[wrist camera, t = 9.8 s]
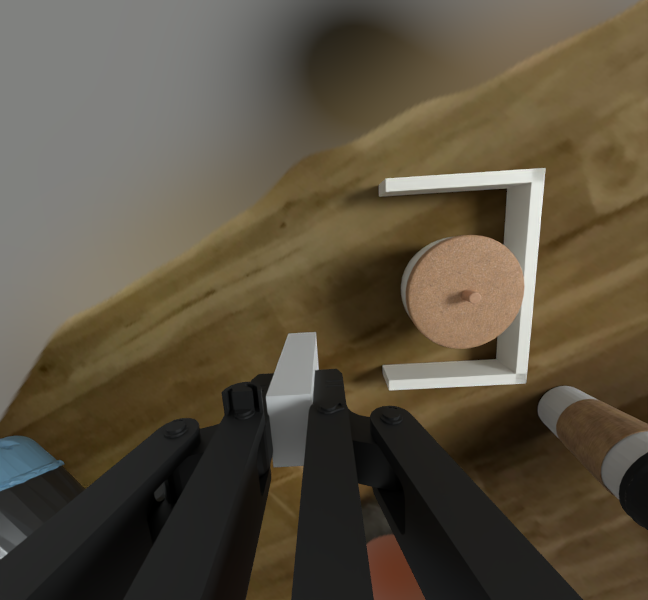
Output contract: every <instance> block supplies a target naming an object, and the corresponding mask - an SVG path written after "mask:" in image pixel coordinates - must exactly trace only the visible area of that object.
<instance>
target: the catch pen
mask: <svg viewBox="0 0 648 600" xmlns="http://www.w3.org/2000/svg"><path fill="white" fill-rule="evenodd" d="M544 179H545V168H538V169H523V170H508V171H493V172H478V173H463V174H448V175H433V176H418V177H403V178H388V179H385V180H384V181H383V182H382V183H380V184H379V197H382V196H397V195H413V194H428V193H443V192H459V191H474V190H490V189H505V188H507V200H506V216H505V231H504V246H506V247H507V248H508V249H509V250H510V251H511V252H512V253H513V254H514V256H515V257H516V259H517V260H518V262H519V264H520V266H521V269H522V272H523V276H524V286H525V287H524V296H523V301H522V305H521V307H520V309H519V312H518V314H517V315H516V317H515V319H514V321H513V322H512V323H511V324H510V325H509V327H508V328H507V329H506V330H505V331H504V332H503V333H502V334H500V335H499V336H498V338H497V353H496V359H490V360H471V361H452V362H433V363H414V364H396V365H382V368H383V376H384V379H385V381H386V384H387V386H388V389H389V390H405V389H424V388H444V387H463V386H483V385H502V384H522V383H526V379H527V368H528V357H529V346H530V335H531V324H532V313H533V302H534V290H535V279H536V268H537V257H538V246H539V235H540V224H541V213H542V202H543V191H544Z"/></svg>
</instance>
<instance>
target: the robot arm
mask: <svg viewBox="0 0 648 600" xmlns="http://www.w3.org/2000/svg"><path fill="white" fill-rule="evenodd" d="M222 399H223V406H224V413H225V415H224V417H223V419H222V421H221V423H220V424H217V425H214V426H210V427H206V428H202V429H200V428H199V423H198V422H197V421H196V420H195V419H191V418H182V419H177V420H174V421H172V422H170V423H167V424H165V425H164V426H162V427H161V428H159V429H158V430H157V431H156V432H154V433H153V434H152V435H151V436H149V437H148V438H147V439H146V440H145V441H143V442H142V443H141V444H140V445H139V446H137V447H136V448H135V449H134V450H132V451H131V452H130V453H129V454H128V455H126V456H125V457H124V458H123V459H122V460H120V461H119V462H118V463H117V464H116V465H114V466H113V467H112V468H111V469H109V470H108V471H107V472H106V473H105V474H103V475H102V476H101V477H100V478H99V479H97V480H96V481H95V482H94V483H92V484H91V485H90V486H89V487H88V488H86V489H85V488H84V487H83V486H81V485H80V483H79V482H78V481H77V480H76V479H75V478H74V477H73V476H72V475H71V474H70V473H69V472H68V471H67V470H66V469H65V468H64V467H63V466H62V465H64V462H63V461H61V460H56V459H55V458H54V457H53V456H52V455H50V454H49V453H48V452H47V451H46V450H45V449H43V448H42V447H41V446H40V445H39V444H38V443H36V442H35V441H34V440H32V439H31V438H28V437H25V436H10V437H5V438H2V439H0V600H245V599H246V595H247V590H248V585H249V581H250V576H251V571H252V567H253V562H254V557H255V553H256V548H257V543H258V538H259V534H260V529H261V524H262V520H263V515H264V510H265V506H266V501H267V496H268V492H269V487H270V482H271V469H270V463H271V458H272V457H273V466H274V467H287V466H304V468H303V479H302V489H301V500H300V511H299V522H298V533H297V544H296V555H295V566H294V577H293V588H292V598H291V600H374V598H373V591H372V584H371V576H370V569H369V562H368V555H367V546H366V539H365V532H364V524H363V517H362V509H361V502H360V494H359V487H358V483H359V484H363V485H367V486H372V488H373V492H374V495H375V497H376V499H377V501H378V503H379V505H380V507H381V509H382V511H383V513H384V515H385V517H386V519H387V521H388V523H389V526H390V528H391V530H392V532H393V534H394V536H395V538H396V540H397V542H398V544H399V546H400V548H401V550H402V552H403V554H404V556H405V558H406V560H407V562H408V564H409V566H410V568H411V570H412V573H413V574H414V577H415V579H416V580H417V582H418V585H419V587H420V589H421V591H422V593H423V595H424V597H425V599H426V600H583V599H582V598H581V597H580V596H579V595H578V594H577V593H576V592H575V590H574V589H573V588H572V587H571V586H570V585H569V584H568V583H567V582H566V581H565V580H564V579H563V577H562V576H561V575H560V574H559V573H558V572H557V571H556V570H555V569H554V568H553V567H552V566H551V565H550V563H549V562H548V561H547V560H546V559H545V558H544V557H543V556H542V555H541V554H540V553H539V552H538V551H537V549H536V548H535V547H534V546H533V545H532V544H531V543H530V542H529V541H528V540H527V539H526V538H525V537H524V535H523V534H522V533H521V532H520V531H519V530H518V529H517V528H516V527H515V526H514V525H513V524H512V522H511V521H510V520H509V519H508V518H507V517H506V516H505V515H504V514H503V513H502V512H501V511H500V510H499V508H498V507H497V506H496V505H495V504H494V503H493V502H492V501H491V500H490V499H489V498H488V497H487V496H486V494H485V493H484V492H483V491H482V490H481V489H480V488H479V487H478V486H477V485H476V484H475V483H474V482H473V480H472V479H471V478H470V477H469V476H468V475H467V474H466V473H465V472H464V471H463V470H462V469H461V468H460V466H459V465H458V464H457V463H456V462H455V461H454V460H453V459H452V458H451V457H450V456H449V455H448V453H447V452H446V451H445V450H444V449H443V448H442V447H441V446H440V445H439V444H438V443H437V442H436V441H435V439H434V438H433V437H432V436H431V435H430V434H429V433H428V432H427V431H426V430H425V429H424V428H423V427H422V425H421V424H420V423H419V422H418V421H417V420H416V419H415V418H414V417H413V416H412V415H411V414H410V413H409V412H408V411H406V410H405V409H402V408H400V407H396V406H382V407H379V408H376V409H375V410H374V411H373V412H372V413H371V415H370V417H365V416H361V415H357V414H355V413H353V412H352V411H350V410H349V409H348V407H347V405H346V399H345V391H344V384H343V376H342V373H341V372H340V371H339V370H337V369H327V370H319V369H318V354H317V340H316V332H308V333H291V334H288V337H287V339H286V342H285V345H284V348H283V350H282V353H281V356H280V359H279V361H278V364H277V367H276V370H275V373H272V374H259V375H257V376H256V377H255V378H254V379H252V380H251V382H242V383H237V384H234V385H231V386H229V387H228V388H226V389H225V390H224V391H223V392H222Z"/></svg>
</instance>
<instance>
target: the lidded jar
mask: <svg viewBox="0 0 648 600" xmlns="http://www.w3.org/2000/svg"><path fill="white" fill-rule="evenodd" d="M524 287H525V286H524V276H523V272H522V269H521V266H520V264H519V262H518V260H517V259H516V257H515V256H514V254H513V253H512V252H511V251H510V250H509V249H508V248H507V247H506V246H504V245H503V244H501V243H500V242H498V241H496V240H494V239H491V238H488V237H484V236H478V235H461V236H456V237H449V238H444V239H440V240H438V241H435V242H433V243H430V244H429V245H427V246H425V247H424V248H422V249H421V250H420V251H419V252H417V253H416V254H415V255H414V256H413V257H412V259H411V260H410V261H409V263H408V264H407V266H406V268H405V270H404V273H403V276H402V281H401V297H402V302H403V305H404V308H405V310H406V312H407V314H408V315H409V317H410V319H411V320H412V321H413V323H414V325H415V326H416V327H417V328H418V330H419V331H420V332H421V333H422V334H423V335H424V336H425V337H427V338H428V339H429V340H431V341H433V342H434V343H436V344H439V345H441V346H444V347H448V348H456V349H465V348H472V347H477V346H480V345H483V344H485V343H487V342H489V341H491V340H493V339H495V338H496V337H497V336H499V335H500V334H502V333H503V332H504V331H505V330H506V329H507V328H508V327H509V325H510V324H511V323H512V322H513V321H514V319H515V317H516V315H517V314H518V312H519V309H520V307H521V305H522V301H523V296H524Z"/></svg>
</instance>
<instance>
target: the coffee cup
mask: <svg viewBox="0 0 648 600" xmlns="http://www.w3.org/2000/svg"><path fill="white" fill-rule="evenodd" d="M538 415H539V417H540V419H541V420H542V422H543V423H544V424H545V425H546V426H547V427H548V428H549V429H550V430H551V431H552V432H553V433H554V434H555V435H556V436H557V437H558V438H559V439H560V440H561V442H562V443H563V444H564V445H565V446H566V447H567V448H568V449H569V450H570V451H571V452H572V453H573V455H574V456H575V457H576V458H577V459H578V460H579V461H580V462H581V463H582V464H583V465H584V466H585V467H586V468H587V469H588V471H589V472H590V473H591V474H592V475H593V476H594V477H595V478H596V479H597V480H598V481H599V482H600V483H601V484H602V486H603V487H604V488H605V489H606V490H607V491H608V492H610V493H611V494H612V495H614V496H616V497H617V498H618V499H619V500H620V503H621V506H622V508H623V509H624V511H625V512H626V513H627V514H628V515H629V516H630V517H631V518H632V519H633V520H634V521H635V522H636V523H638V524H639V525H640V526H642V527H644V528H646V529H647V530H648V424H646V423H644V422H642V421H640V420H638V419H636V418H634V417H632V416H630V415H628V414H626V413H624V412H622V411H620V410H618V409H616V408H614V407H612V406H610V405H608V404H606V403H604V402H602V401H599V400H597V399H595V398H593V397H591V396H589V395H588V394H586V393H584V392H582V391H580V390H578V389H576V388H574V387H570V386H559V387H555V388H553V389H551V390H549V391H548V392H546V393H545V394H544V395H543V397H542V398H541V400H540V402H539V404H538Z"/></svg>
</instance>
